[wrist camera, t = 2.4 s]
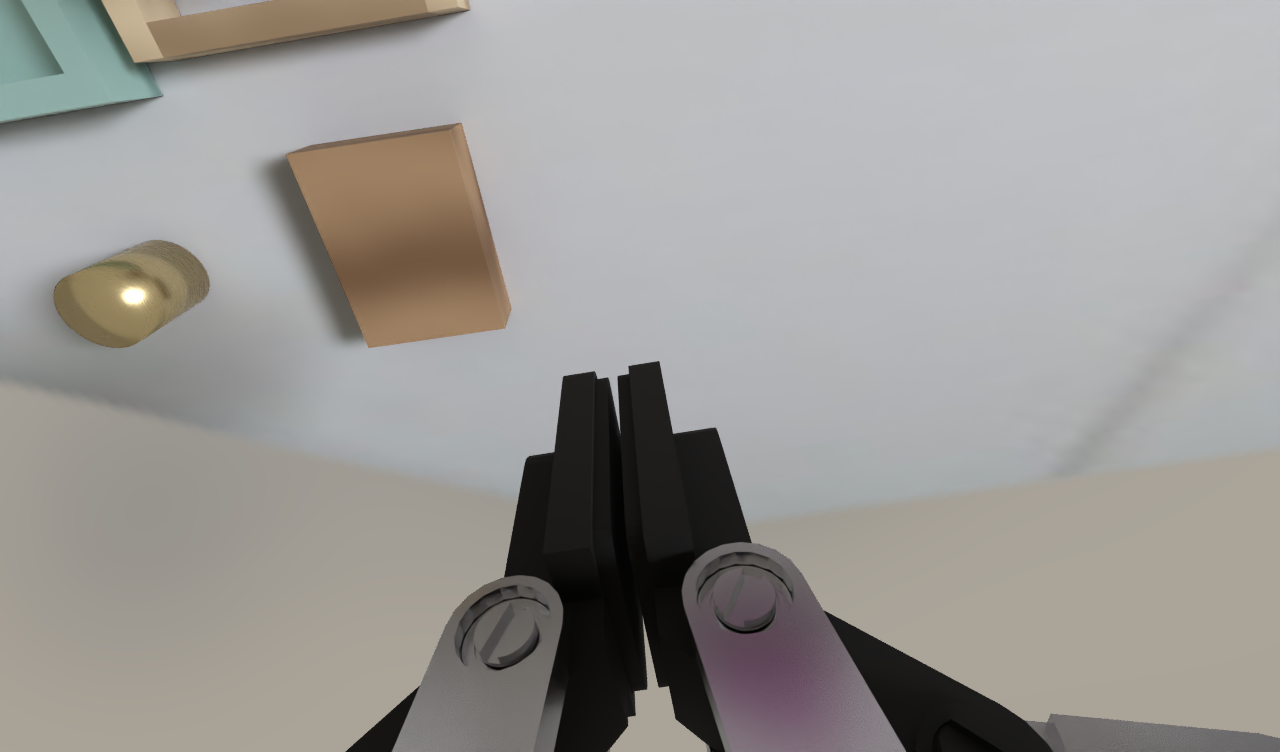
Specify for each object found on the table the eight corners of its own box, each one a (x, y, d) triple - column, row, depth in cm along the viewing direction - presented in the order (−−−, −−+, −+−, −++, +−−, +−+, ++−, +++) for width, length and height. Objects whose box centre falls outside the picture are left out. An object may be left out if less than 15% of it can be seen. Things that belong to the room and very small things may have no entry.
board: (315, 143, 23) (285, 154, 20) (463, 121, 22) (449, 130, 20) (387, 323, 27) (368, 347, 25) (512, 305, 27) (504, 328, 24)
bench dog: (116, 246, 24) (34, 280, 20) (185, 235, 24) (114, 267, 20) (157, 310, 25) (87, 353, 22) (222, 300, 25) (162, 341, 22)
